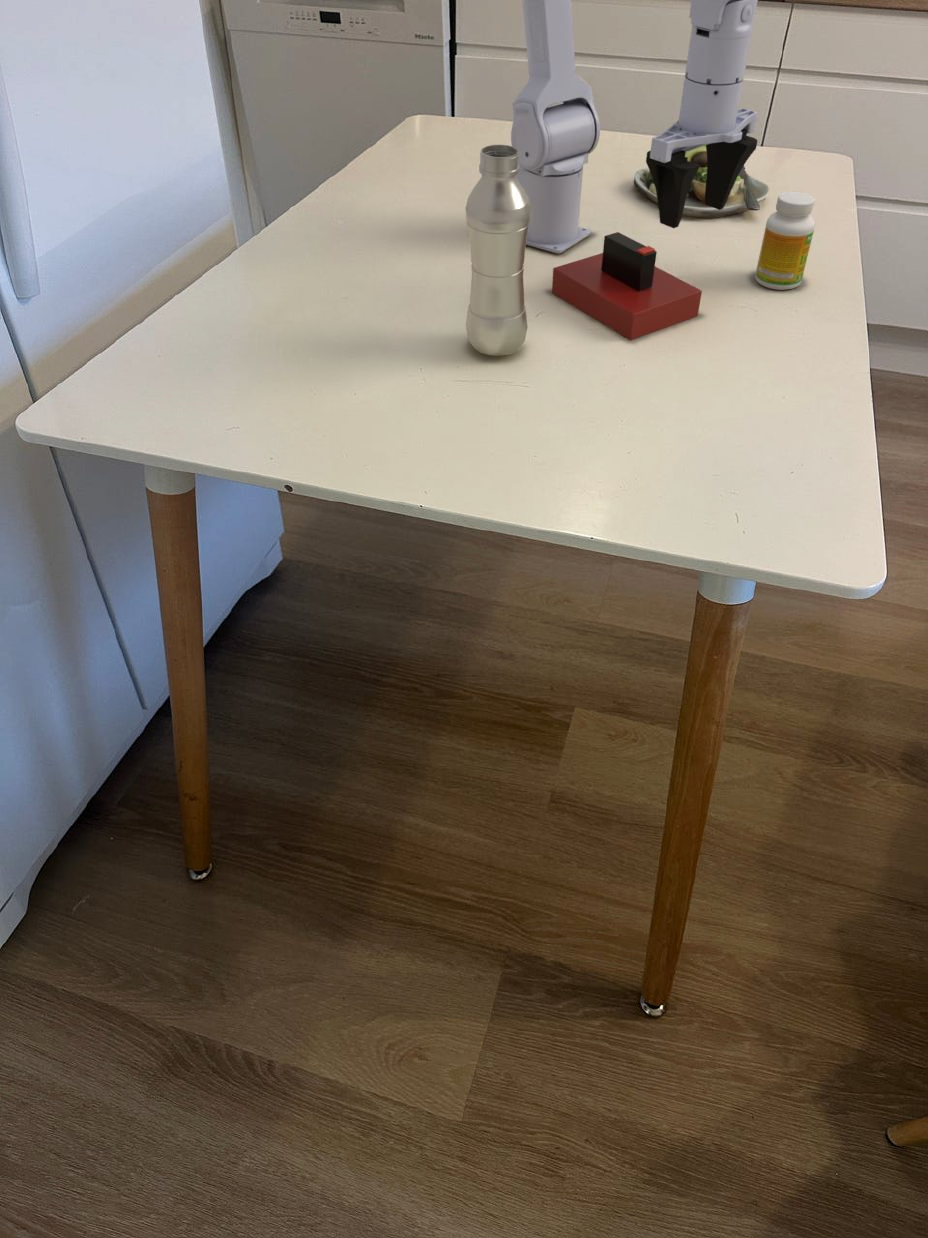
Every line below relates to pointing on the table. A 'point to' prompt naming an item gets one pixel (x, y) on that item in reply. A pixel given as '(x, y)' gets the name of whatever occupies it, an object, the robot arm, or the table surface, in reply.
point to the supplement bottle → (786, 242)
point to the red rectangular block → (625, 298)
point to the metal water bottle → (497, 253)
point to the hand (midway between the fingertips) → (691, 215)
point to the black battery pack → (628, 261)
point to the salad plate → (739, 200)
